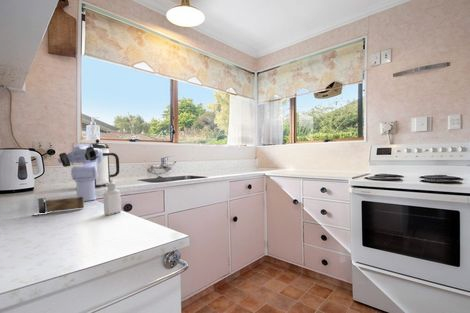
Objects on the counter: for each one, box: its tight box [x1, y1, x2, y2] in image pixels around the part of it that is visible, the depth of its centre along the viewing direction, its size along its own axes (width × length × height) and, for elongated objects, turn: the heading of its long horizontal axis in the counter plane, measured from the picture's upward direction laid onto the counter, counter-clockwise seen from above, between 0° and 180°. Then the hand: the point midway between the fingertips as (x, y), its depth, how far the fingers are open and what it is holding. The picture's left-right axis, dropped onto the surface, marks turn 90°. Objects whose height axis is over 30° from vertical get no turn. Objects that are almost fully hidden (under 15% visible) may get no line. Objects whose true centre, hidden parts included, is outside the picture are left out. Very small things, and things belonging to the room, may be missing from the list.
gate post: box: [37, 197, 46, 213], centre depth 88 cm, size 5×5×6 cm
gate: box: [45, 196, 85, 212], centre depth 91 cm, size 12×2×4 cm, turn 115°
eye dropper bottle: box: [102, 178, 122, 216], centre depth 85 cm, size 4×6×12 cm
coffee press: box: [89, 138, 120, 189], centre depth 155 cm, size 17×16×30 cm
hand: (75, 159), depth 92 cm, fingers open, 7 cm apart
